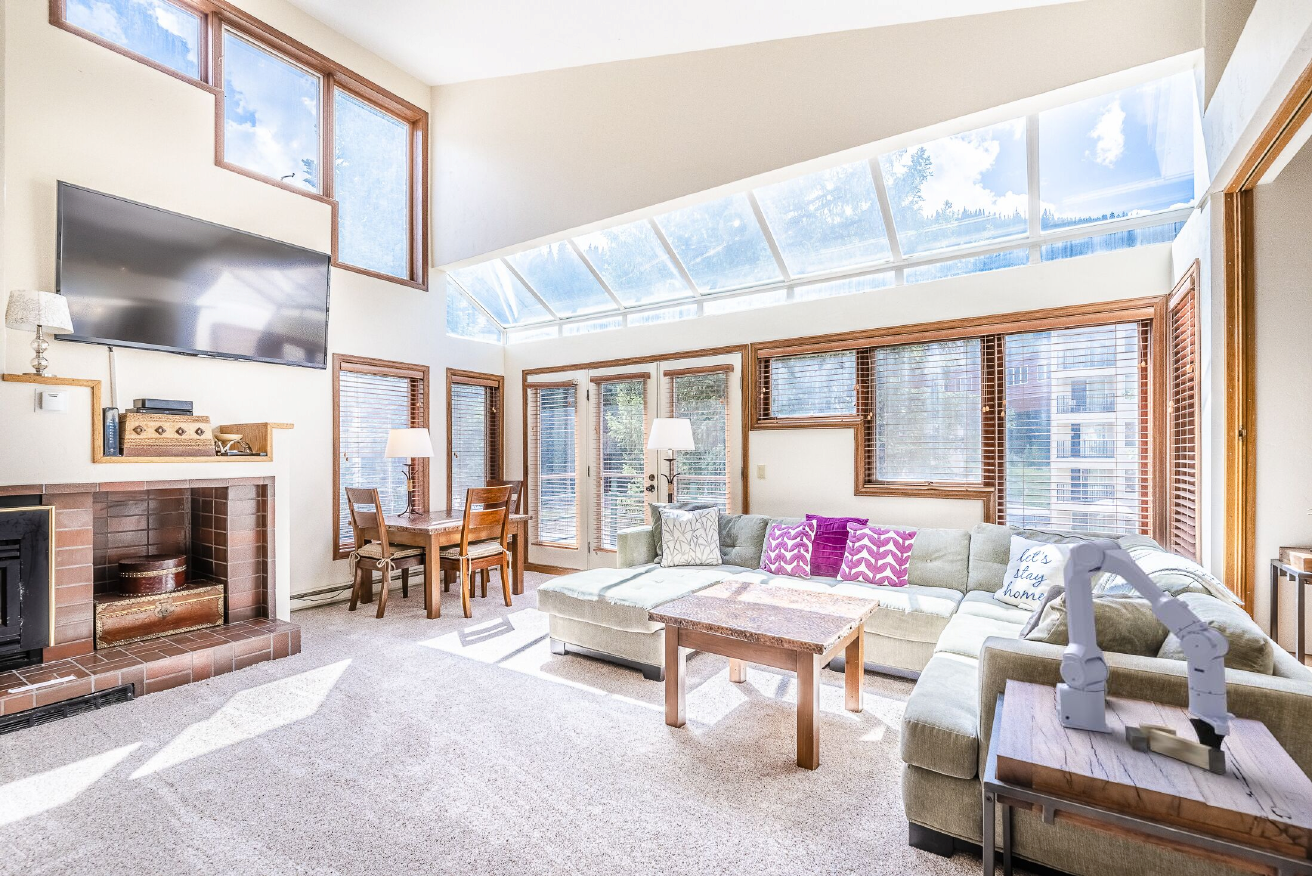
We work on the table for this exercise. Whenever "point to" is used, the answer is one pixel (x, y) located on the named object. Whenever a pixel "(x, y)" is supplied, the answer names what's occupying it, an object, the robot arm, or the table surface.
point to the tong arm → (1188, 751)
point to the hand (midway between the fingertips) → (1210, 758)
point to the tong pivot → (1144, 735)
